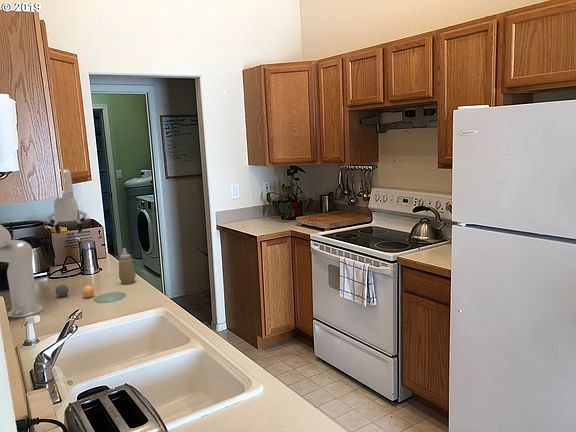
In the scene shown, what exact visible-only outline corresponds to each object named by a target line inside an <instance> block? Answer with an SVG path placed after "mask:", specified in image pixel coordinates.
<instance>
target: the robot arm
mask: <svg viewBox="0 0 576 432" xmlns="http://www.w3.org/2000/svg"><path fill="white" fill-rule="evenodd" d="M63 170H64V174H65V183H66V187H67V189H66V190H65V191H64V193H63V197H62V198H55V200H53V213H51V214H49V215H48V216H47V219H48V220H49V222H50V223H51V224H53V226H54V230H55V232H56V235H58V234H60V233H61V232H62V231H61V224H59V223H60V222H72V221H75V222H76V223H77V231H78V233H81V232H83V222H84V221H85V219H86V217H87V216H88V213H86V212H84V211H81V210H79V206H78V205H79V204H78V202H77V200H76V198H75V197H74V189H73V180H72V173H71V171H70V170H69V169H63ZM80 215H81V216H82V217H81V216H80ZM53 217H54V218H53ZM33 254H34V252H33V247H32V245H31V244H30V243H28V242H27V241H25V240H19V239H12V235H11V233H10V231H9V230H8V229H7V228H6V227H4V226H3V225H2V224H0V263H2V262H3V263H8V267H7V271H6V274H7V275H6V276H7V282H8V287H9V293H10V295H9V296H10V301H11V310H9V311H8V312H7V313H6V315H7V314H8V316H7V317H10V318H12V319H13V318H14V319H15V318H18V319H19V318H26V317H30V316H34V315H36V314H38V313H41V312H42V311H43V305H40V304H39V302H38V296H37V289H36V282H35V276H34V270H33V269H34V268H33Z"/></svg>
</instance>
